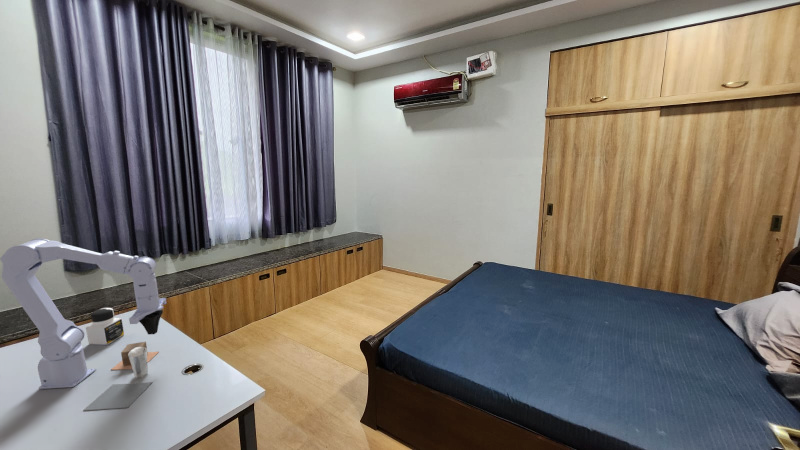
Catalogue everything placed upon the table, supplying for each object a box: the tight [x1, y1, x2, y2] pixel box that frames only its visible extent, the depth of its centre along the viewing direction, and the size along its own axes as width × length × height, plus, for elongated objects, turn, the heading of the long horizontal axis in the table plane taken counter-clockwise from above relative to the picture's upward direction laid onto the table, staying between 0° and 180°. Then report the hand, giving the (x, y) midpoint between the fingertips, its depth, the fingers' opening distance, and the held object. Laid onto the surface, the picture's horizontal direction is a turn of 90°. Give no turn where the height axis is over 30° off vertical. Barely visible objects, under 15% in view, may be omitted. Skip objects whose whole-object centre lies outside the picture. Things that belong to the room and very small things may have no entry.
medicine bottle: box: [85, 307, 125, 345], centre depth 116 cm, size 7×7×12 cm
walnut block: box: [120, 341, 149, 366], centre depth 104 cm, size 5×5×5 cm
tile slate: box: [83, 381, 153, 412], centre depth 89 cm, size 11×10×1 cm
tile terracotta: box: [110, 351, 160, 371], centre depth 104 cm, size 9×9×1 cm
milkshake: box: [128, 347, 149, 379], centre depth 96 cm, size 4×5×10 cm
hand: (152, 333), depth 102 cm, fingers closed
